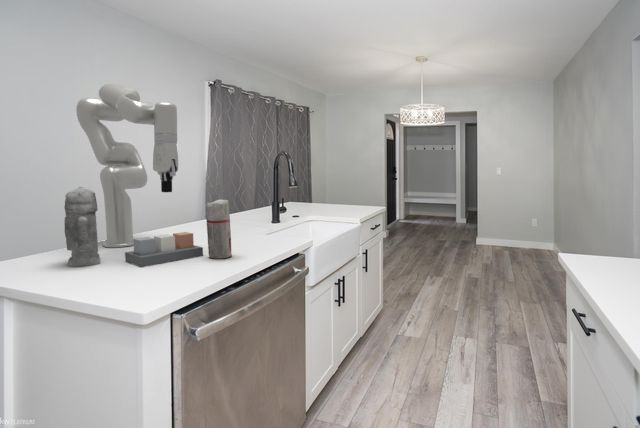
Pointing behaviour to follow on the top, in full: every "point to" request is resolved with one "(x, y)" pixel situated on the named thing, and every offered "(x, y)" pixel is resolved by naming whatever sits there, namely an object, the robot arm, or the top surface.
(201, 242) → the top surface
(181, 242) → the terracotta key
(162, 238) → the ivory key
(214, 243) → the spray can
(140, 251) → the slate key
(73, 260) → the figurine
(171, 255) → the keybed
